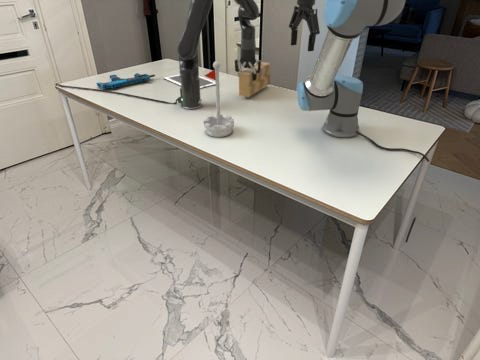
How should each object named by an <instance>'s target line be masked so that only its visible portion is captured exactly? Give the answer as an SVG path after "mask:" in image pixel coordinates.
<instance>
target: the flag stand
mask: <svg viewBox="0 0 480 360" xmlns="http://www.w3.org/2000/svg"><path fill="white" fill-rule="evenodd" d="M212 67H213V69H212V70H210V72H208V73H206V74H205V75H204V77H205V78H207V79H210V80H212V81H215V84H216V85H215V104H216V116H214V117H213V114H212V115H208V116H206V118H203V127H204V128H205V129H206V134H207V135H208V136H211V137H214V138H221V137H222V138H223V137H227V136H229V135H231V134H232V131H233V130H232V129H233V128H234V127H235V119H234V118H233V117H232V116H230V115H226V116H223V115H224V114H222V113H221V95H220V93H221V92H220V68H221V63H220V62H219V61H218V60H216V61H214V62H213V64H212Z"/></svg>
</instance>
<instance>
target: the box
mask: <svg viewBox="0 0 480 360" xmlns="http://www.w3.org/2000/svg"><path fill="white" fill-rule="evenodd" d="M254 66H255V68H256V70H258V65H257V63H255V64H254ZM270 84H271V62H265V61H261V71H260V73H257V79H256V80H255V81H254V72H253V70H252V69H251V68H245V69H243V70H242V72H240V73H238V95H239V96H241V97H246V98H249V97H251V96H253V95H254V94H256V93H258V92H259V91H260V90H262V89H264V88H266V87H267V86H269V85H270Z"/></svg>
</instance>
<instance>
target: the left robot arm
mask: <svg viewBox="0 0 480 360" xmlns="http://www.w3.org/2000/svg"><path fill="white" fill-rule="evenodd" d="M233 1H234V2H235V4H236V5H238V9H237V16H238V21H239V22H238V23H239V27H240V59H238V58H236V59H235V60H234V71H235V72H237V73H238V74H239V73H240V72H242V71H244V69H248V68H251V69H252V70H253V72H254V81H255V80H256V79H257V73H260V71H261V62H262V59H259V60H258V59H256V48H257V45H256V44H257V43H256V27H255V25H254V24H252V22H251V21H255V20H257V19H258V18H259V15H260V10H259V9H260V8H259V6H258V4H257V3H256V1H255V0H233ZM213 2H214V0H189V4H188V9H187V13H186V21H185V25H184V29H183V32H182V34H181V37H180V39H179V41H178V43H177V46H176V50H177V54H178V64H179V67H178V68H179V69H178V70H179V74H180V79H181V86H180V88H179V95H180V96H178V97H177V98H176V100H175V102H169V101H165V100H161V99H160V100H159V99H154V98H150V97H144V96H140V95H135V94H131V93H130V94H128V93H124V92H118V91H112V90H107V89H104V90H103V89H100V88H91V87H81V86H72V85H62V84H60V83H55V85H54V86H55V87H56V86H59V87H62V88H69V89H70V88H72V89H79V90H80V89H81V90H88V91H89V90H90V91H96V92H97V91H98V92H104V93H109V94H110V93H112V94H116V95H117V94H118V95H123V96H128V97H133V98H138V99H143V100H149V101H153V102H157V103H158V102H159V103H163V104H167V105H176V104H180V105H181V107H182V108H183V109H185V110H197V109H200V108H201V107H202V98H201V88H200V82H199V76H200V72H199V71H200V68H199V67H200V66H199V50H198V49H199V48H198V47H199V42H200V37H201V33H202V31H203V29H204V26H205V24H206V21H207V19H208V16H209V14H210V12H211V8H212V5H213ZM239 64H241V67H239ZM256 64H257V65H258V70H256V68H255V66H254V65H256Z"/></svg>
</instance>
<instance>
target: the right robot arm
mask: <svg viewBox="0 0 480 360" xmlns="http://www.w3.org/2000/svg"><path fill="white" fill-rule="evenodd" d="M296 1H297V2H296V5H294V7H293V12H292V15H291V18H290V20H289V23H288V28H289V29H290V31H291V34H290V46H297V43H298V31H299V30H298V27H299V25H300V24H301V22H302V21H303V20H304V21H305V22H306V24H307V27H308V31H309V35H308V43H307V52H314V51H315V50H314V49H315V43H316V37H317V35H320V34H321V31H320V25H319V20H318V19H319V17H318V8H313V6H315V5H316V0H296ZM405 4H406V0H325V3H324V10H323V21H324V24H325V25H326V29H327V33H326V36H325V38H324V41H323V43H322V46H321V50H320V51H319V54H318V57H317V60H316V62H315V65H314V67H313V69H312V73H310V74H308V75H307V76H306V78H305V81H299V82H298V83H297V89H296V95H297V102H298V106H299V109H300V110H301V111H303V112H305V111H306V112H307V111H308V112H314V111H328V110H329V112H328V115H327V117H326V118H325V120H324V123H323V126H322V130H323V132H324V133H325V134H326V135H329V136H332V137H335V138H339V139H341V138H342V139H349V138H354V137H356V136H357V135H360V136H361V137H363V138H364V139H367V140H368V141H369V142H370V143H372V144H373V145H374V146H376V147H377V148H378V149H381V150H385V151H403V152H409V153H413V154H417V155H420V156H422V157H423V158H424V159H425V160H426V162H428V163H429V162H430V159H429V158H428V156H426V154H424V153H423V152H420V151H418V150H413V149H409V148H401V147H399V148H398V147H395V148H393V147H385V146H381V145H379V144H378V143H377V142H375V141H374V140H373V139H371V138H370V137H368V136H367V135H365V134H363V133H361V132H360V125H359V118H358V117H359V116H358V114H359V111H360V110H359V109H360V105H361V100H362V95H363V89H364V83H363V81H362V80H360V79H359V78H356V77H354V76H351V75H350V76H349V75H341V74H339V75H338V72H339V70H340V68H341V66H342V64H343V62H344V60H345V58H346V55H347V53H348V51H349V49H350V47H351V45H352V42H353V40H355V39H357V38H359V37H360V36H361V35H362V32H363V30H364V29H365V27H374V26H375V27H378V26H384V25H387V24H389V23H391V22H393V21H394V20H395V19H397V18H398V16H399V15H400V14H401V13H402V11H403V10H404V8H405ZM416 220H417V217H414V218H413V219H412V222H411V225H410V227H409V230H408V232H407V235H406V239H405V240H404V241H405V243H408V241H409V238H410V235H411V232H412V229H413V227H414V224H415V222H416Z"/></svg>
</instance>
